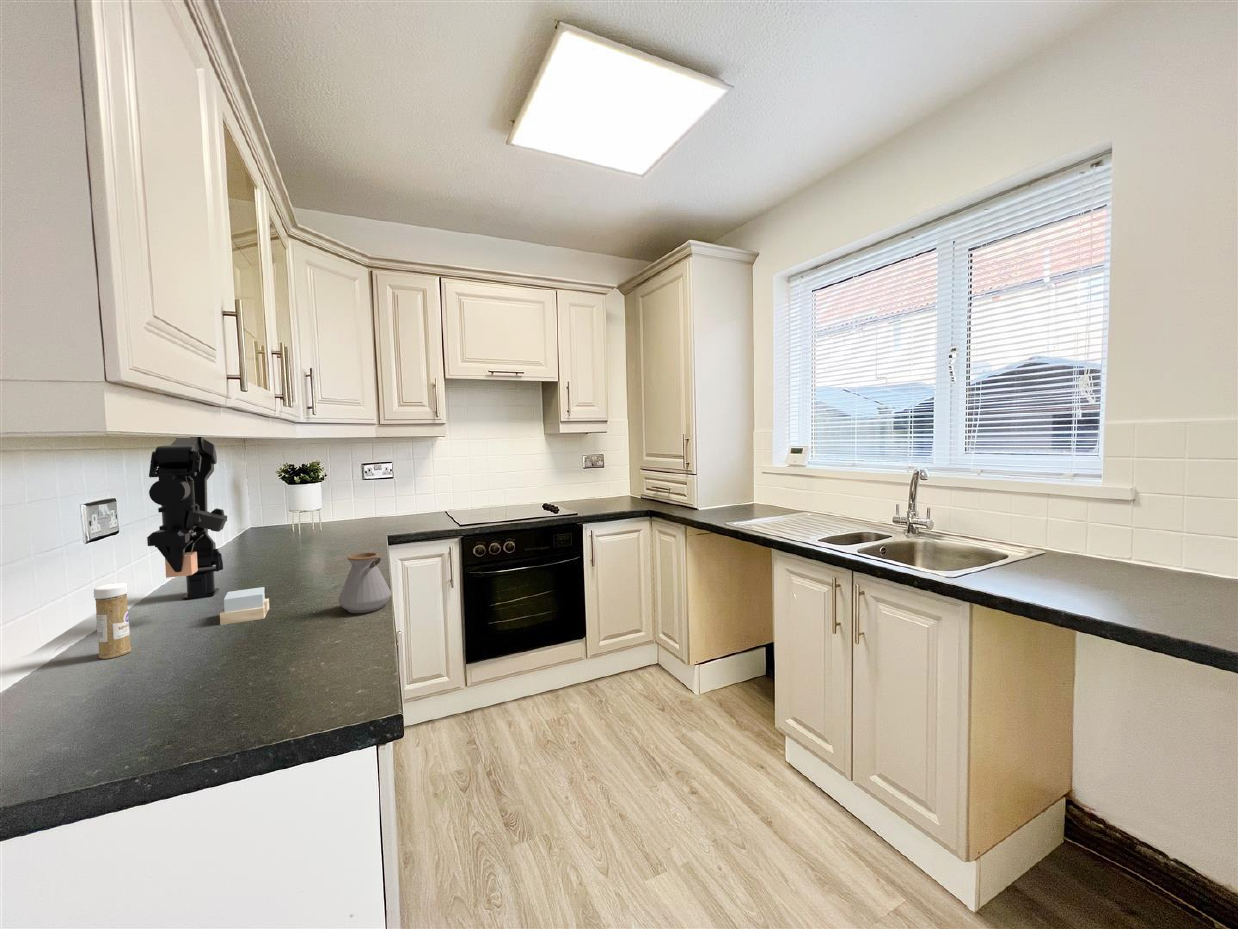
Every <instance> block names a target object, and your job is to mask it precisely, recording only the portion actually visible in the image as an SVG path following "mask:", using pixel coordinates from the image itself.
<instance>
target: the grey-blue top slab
mask: <svg viewBox="0 0 1238 929" xmlns="http://www.w3.org/2000/svg"><path fill="white" fill-rule="evenodd" d="M265 596H266V595H265V586H262V587H261V586H259V587H253V588H247V589H239V590H232V591H227V592H226V595H225V596H224V598H223V607H224V608H223V609H224V611H225V613H227V612H234V611H240V610H247V609H253V608H260V607H263V605H264V601H265V599H266V597H265Z"/></svg>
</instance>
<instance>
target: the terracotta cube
mask: <svg viewBox="0 0 1238 929" xmlns="http://www.w3.org/2000/svg"><path fill="white" fill-rule="evenodd" d="M164 567H165V578H166V579H167V578H176V577H178V578H179V577H186V576H188V575H193V574H194V573H195V572H197V571H198V566H197V552H186V553H185V554H184V561H183V567H182V571H181V572H175V571H174V570H173V568H172V567H171V566H170V564H169V563H168V561H167V560H166V559H165V558H164Z"/></svg>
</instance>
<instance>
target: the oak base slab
mask: <svg viewBox="0 0 1238 929" xmlns="http://www.w3.org/2000/svg"><path fill="white" fill-rule="evenodd" d="M269 610H270V598H265V601H264V605H263V607H260V608H253V609H247V610H240V611H234V612H227V613H225V611H224V608H223V609H222V610H221V611H220V613H219V623H220V624H219V625H220V626H223V625H228V624H229V625H230V624H237V623H243V622H250V621H256V620H263V619H265V618H266V616H267V613H268V612H269Z"/></svg>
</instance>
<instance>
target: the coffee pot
mask: <svg viewBox="0 0 1238 929" xmlns="http://www.w3.org/2000/svg"><path fill="white" fill-rule="evenodd" d="M346 559H347V560H348V562H350V564H351V568H350V570H349V573H348V575H347V578H346V579H345V581H344V585H343V587H342V589H341V592H340V593H339V596H338V604H339V606H340V607H341V608H343V609H344V610H347V612H348V613H351V614H365V613H370V612H374V611H377V610H380V609H381V608H383V607H384V605H385V604H386V603H387V602H388V601H389V600H390V598H391V596H392V591H391V589H390V587H389V586H388V584H387V581H386V579H385V578H384V576H383V575H382V572H381V571H380V570H381V569H380V568H381V567H383V566H384V565H385V563H386V561H385V559H383V558H381V557H379V554H378V553H377V552H363V553H356V554H352V555H349V556H348V557H347V558H346ZM381 560H382V561H383V564H382V565H381V566H379V565H378V564H380V563H381Z"/></svg>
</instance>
